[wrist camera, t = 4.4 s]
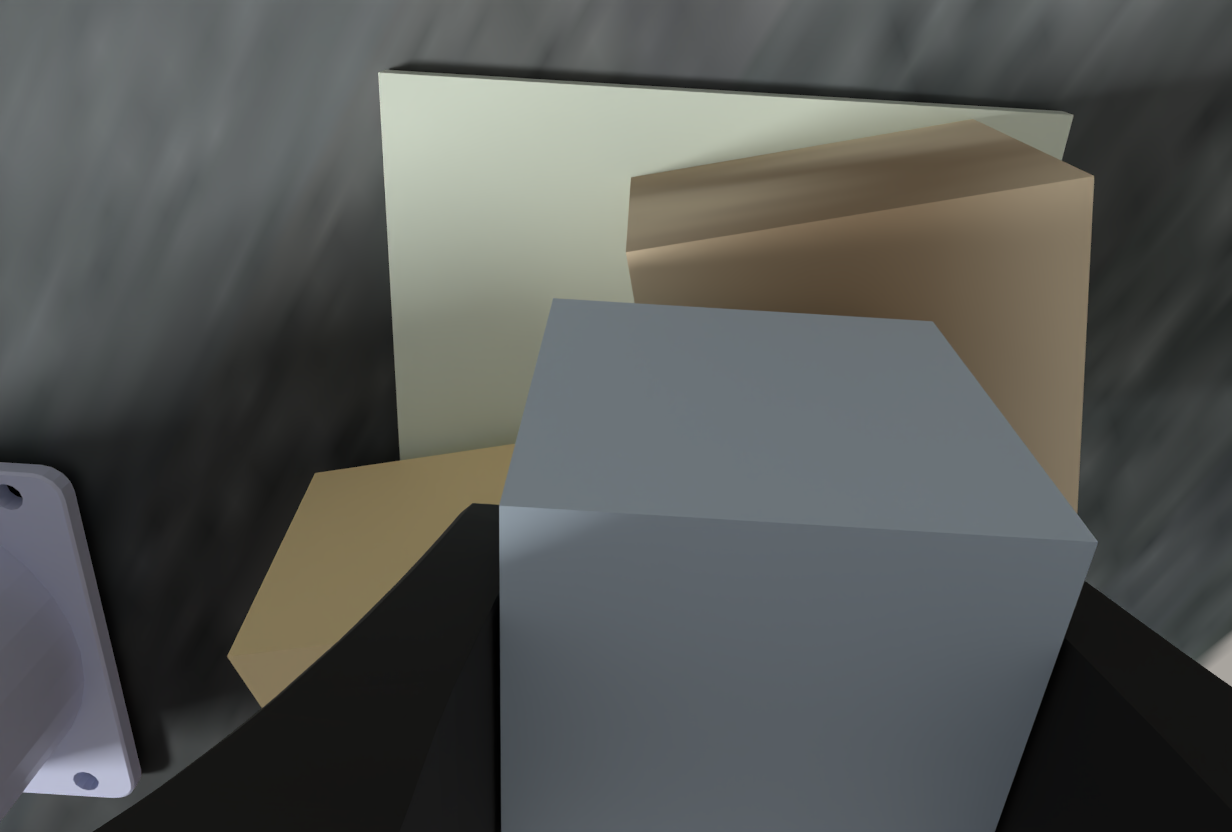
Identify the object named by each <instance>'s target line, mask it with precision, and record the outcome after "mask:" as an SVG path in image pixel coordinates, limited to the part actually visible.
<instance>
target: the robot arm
mask: <svg viewBox="0 0 1232 832" xmlns="http://www.w3.org/2000/svg"><path fill="white" fill-rule="evenodd" d="M7 485H9V486H12V487H14V488H15V489H16V490H18V491H19V492H20V494H21V496H22V498H21V497H18V496H16V495H14V494H13V493H12V492H10V490H9V488H8V487H7ZM140 778H141V768H140V764H139V759H138V755H137V751H136V747H135V742H134V738H133V734H132V730H131V726H130V721H129V717H128V713H127V709H126V705H125V700H124V696H123V692H122V688H121V684H120V679H119V675H118V671H117V667H116V663H115V658H114V654H113V650H112V646H111V642H110V637H109V633H108V629H107V625H106V620H105V616H104V612H103V608H102V604H101V599H100V595H99V591H98V587H97V583H96V578H95V574H94V570H93V566H92V562H91V557H90V553H89V549H88V545H87V541H86V536H85V532H84V528H83V524H82V520H81V515H80V511H79V507H78V503H77V498H76V494H75V490H74V488H73V486H72V484H71V482H70V480H69V479H68V478H67V477H66V476H65V475H64V474H63V473H61V472H60V471H58V470H56V469H54V468H53V467H49V466H44V465H37V464H21V463H5V462H0V822H1V820H2V819H3V818H4V816H5V815H6V814H7V812H8V811H9V810H10V808H11V807H12V806H13V804H14V803H15V802H16V800H17V799H18V798H19V796H20V795H21V794H22V792H28V793H44V794H60V795H76V796H92V797H108V798H118V797H125V796H127V795H129V794H131V792H132V791H133V790H134V788H135V786H136V785H137V783H138V782H139V780H140ZM93 832H501V721H500V563H499V505H496V504H479V503H472V504H471V505H470V506H468V507H467V508H466V509H465V510H463V511H462V512H461V513H460V514H459V515H458V516H457V518H456V519H455V520H454V521H453V522H452V523H451V524H450V526H449V527H448V528H447V529H446V530H445V531H444V532H443V534H442V535H441V536H440V537H439V538H438V539H437V540H436V541H435V543H434V544H433V545H432V546H431V547H430V548H429V549H428V550H427V551H426V552H425V554H424V555H423V556H422V557H421V558H420V559H419V560H418V561H417V562H416V563H415V564H414V565H413V566H412V568H411V569H410V570H409V571H408V572H407V573H406V574H405V575H404V576H403V577H402V578H401V579H400V580H399V581H398V582H397V583H396V584H395V585H394V586H393V587H392V588H391V589H390V590H389V591H388V592H387V593H386V594H385V595H384V596H383V597H382V598H381V599H380V600H379V601H378V602H377V603H376V604H375V605H374V606H373V607H372V608H371V609H370V610H369V611H368V612H367V613H366V614H365V615H364V616H363V617H362V618H361V619H360V620H359V621H358V622H357V623H356V624H355V625H354V626H353V627H352V628H351V629H350V630H349V631H348V632H347V633H346V634H345V635H344V636H343V637H342V638H341V639H340V640H339V641H338V642H336V643H335V644H334V645H333V646H332V647H331V648H330V649H329V650H327V651H326V652H325V653H324V654H323V655H322V656H321V657H320V658H319V659H317V660H316V661H315V662H314V663H313V664H312V665H311V666H310V667H308V668H307V669H306V670H305V671H304V672H303V673H302V674H301V675H299V676H298V677H297V678H296V679H295V680H294V681H293V682H292V683H290V684H289V685H288V686H287V687H286V688H285V689H284V690H283V691H282V692H280V693H279V694H278V695H277V696H276V697H275V698H273V699H272V700H271V701H270V702H269V703H268V704H266V705H265V706H264V707H263V708H261V709H260V710H259V711H258V712H257V713H255V714H254V715H253V716H252V717H250V718H249V719H248V720H247V721H246V722H244V723H243V724H242V725H241V726H239V727H238V728H237V729H236V730H234V731H233V732H232V733H231V734H229V735H228V736H227V737H226V738H224V739H223V740H222V741H220V742H219V743H218V744H217V745H215V746H214V747H213V748H211V749H210V750H209V751H207V752H206V753H205V754H203V755H202V756H201V757H199V758H198V759H197V760H195V761H194V762H193V763H191V764H190V765H189V766H187V767H186V768H185V769H184V770H182V771H181V772H180V773H178V774H177V775H176V776H174V777H173V778H172V779H170V780H169V781H167V782H166V783H165V784H163V785H162V786H161V787H159V788H158V789H156V790H155V791H154V792H152V793H151V794H149V795H148V796H146V797H145V798H143V799H142V800H140V801H139V802H138V803H136V804H135V805H133V806H132V807H130V808H129V809H127V810H125V811H124V812H122V813H121V814H119V815H118V816H116V817H115V818H113V819H112V820H110V821H109V822H107V823H106V824H104V825H103V826H101V827H100V828H98V829H96V830H95V831H93ZM995 832H1232V687H1231V686H1230V685H1228V684H1227V683H1225V682H1224V681H1222V680H1221V679H1220V678H1218V677H1217V676H1216V675H1214V674H1213V673H1211V672H1210V671H1208V670H1207V669H1206V668H1204V667H1203V666H1201V665H1200V664H1199V663H1197V662H1196V661H1194V660H1193V659H1192V658H1190V657H1189V656H1187V655H1186V654H1185V653H1183V652H1182V651H1180V650H1179V649H1178V648H1176V647H1175V646H1173V645H1172V644H1171V643H1169V642H1168V641H1167V640H1165V639H1164V638H1162V637H1161V636H1160V635H1158V634H1157V633H1156V632H1154V631H1153V630H1151V629H1150V628H1149V627H1147V626H1146V625H1144V624H1143V623H1142V622H1140V621H1139V620H1138V619H1136V618H1135V617H1133V616H1132V615H1131V614H1129V613H1128V612H1127V611H1125V610H1124V609H1123V608H1121V607H1120V606H1118V605H1117V604H1116V603H1114V602H1113V601H1112V600H1110V599H1109V598H1107V597H1106V596H1105V595H1103V594H1102V593H1101V592H1099V591H1098V590H1096V589H1095V588H1094V587H1092V586H1091V585H1090V584H1088V583H1087V582H1085V581H1084V583H1083V586H1082V589H1081V592H1080V595H1079V597H1078V600H1077V603H1076V606H1075V609H1074V611H1073V614H1072V617H1071V620H1070V623H1069V625H1068V628H1067V631H1066V634H1065V637H1064V639H1063V642H1062V645H1061V648H1060V651H1059V653H1058V656H1057V659H1056V662H1055V665H1054V667H1053V670H1052V673H1051V676H1050V679H1049V681H1048V684H1047V687H1046V690H1045V693H1044V695H1043V698H1042V701H1041V704H1040V707H1039V709H1038V712H1037V715H1036V718H1035V721H1034V723H1033V726H1032V729H1031V732H1030V735H1029V737H1028V740H1027V743H1026V746H1025V749H1024V751H1023V754H1022V757H1021V760H1020V763H1019V765H1018V768H1017V771H1016V774H1015V777H1014V779H1013V782H1012V785H1011V788H1010V791H1009V793H1008V796H1007V799H1006V802H1005V805H1004V807H1003V810H1002V813H1001V816H1000V819H999V821H998V824H997V827H996V830H995Z"/></svg>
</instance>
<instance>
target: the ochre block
mask: <svg viewBox="0 0 1232 832" xmlns="http://www.w3.org/2000/svg"><path fill="white" fill-rule="evenodd" d="M514 447H515V444H509V445H502V446H496V447H489V448H482V449H475V450H468V451H461V452H455V453H448V454H441V455H434V456H427V457H421V458H414V459H407V460H400V461H393V462H387V463H380V464H373V465H366V466H359V467H353V468H346V469H339V470H332V471H325V472H319V473H315V474H314V476H313V478H312V480H311V482H310V485H309V487H308V489H307V491H306V493H305V495H304V497H303V499H302V501H301V503H300V505H299V507H298V510H297V512H296V514H295V516H294V518H293V520H292V522H291V524H290V526H289V528H288V530H287V532H286V535H285V537H284V539H283V541H282V543H281V545H280V547H279V549H278V551H277V553H276V555H275V557H274V560H273V562H272V564H271V566H270V568H269V570H268V572H267V574H266V576H265V578H264V580H263V582H262V585H261V587H260V589H259V591H258V593H257V595H256V597H255V599H254V601H253V603H252V605H251V607H250V610H249V612H248V614H247V616H246V618H245V620H244V622H243V624H242V626H241V628H240V630H239V632H238V635H237V637H236V639H235V641H234V643H233V645H232V647H231V649H230V651H229V653H228V655H227V657H228V659H229V660H230V662H231V663H232V665H233V666H234V668H235V669H236V670H237V672H238V673H239V675H240V676H241V678H242V679H243V681H244V682H245V684H246V685H247V687H248V688H249V690H250V691H251V693H252V694H253V696H254V697H255V699H256V700H257V701H258V703H259V704H260V706H261V707H262V708H263V707H264V706H265V705H266V704H268V703H269V702H270V701H271V700H272V699H273V698H275V697H276V696H277V695H278V694H279V693H280V692H282V691H283V690H284V689H285V688H286V687H287V686H288V685H289V684H290V683H292V682H293V681H294V680H295V679H296V678H297V677H298V676H299V675H301V674H302V673H303V672H304V671H305V670H306V669H307V668H308V667H310V666H311V665H312V664H313V663H314V662H315V661H316V660H317V659H319V658H320V657H321V656H322V655H323V654H324V653H325V652H326V651H327V650H329V649H330V648H331V647H332V646H333V645H334V644H335V643H336V642H338V641H339V640H340V639H341V638H342V637H343V636H344V635H345V634H346V633H347V632H348V631H349V630H350V629H351V628H352V627H353V626H354V625H355V624H356V623H357V622H358V621H359V620H360V619H361V618H362V617H363V616H364V615H365V614H366V613H367V612H368V611H369V610H370V609H371V608H372V607H373V606H374V605H375V604H376V603H377V602H378V601H379V600H380V599H381V598H382V597H383V596H384V595H385V594H386V593H387V592H388V591H389V590H390V589H391V588H392V587H393V586H394V585H395V584H396V583H397V582H398V581H399V580H400V579H401V578H402V577H403V576H404V575H405V574H406V573H407V572H408V571H409V570H410V569H411V568H412V566H413V565H414V564H415V563H416V562H417V561H418V560H419V559H420V558H421V557H422V556H423V555H424V554H425V552H426V551H427V550H428V549H429V548H430V547H431V546H432V545H433V544H434V543H435V541H436V540H437V539H438V538H439V537H440V536H441V535H442V534H443V532H444V531H445V530H446V529H447V528H448V527H449V526H450V524H451V523H452V522H453V521H454V520H455V519H456V518H457V516H458V515H459V514H460V513H461V512H462V511H463V510H465V509H466V508H467V507H468V506H470V505H471V504H472V503H479V504H496V505H499V504H500V500H501V497H502V493H503V489H504V485H505V481H506V477H507V474H508V470H509V466H510V462H511V458H512V454H513V451H514Z"/></svg>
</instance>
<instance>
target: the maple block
mask: <svg viewBox="0 0 1232 832" xmlns="http://www.w3.org/2000/svg"><path fill="white" fill-rule="evenodd" d="M1093 192H1094V176H1093V175H1091V174H1089V173H1087V172H1085V171H1082V170H1080V169H1078V168H1076V167H1074V166H1072V165H1070V164H1068V163H1066V162H1063V161H1061V160H1059V159H1057V158H1055V157H1053V156H1051V155H1049V154H1046V153H1044V152H1042V151H1040V150H1038V149H1036V148H1034V147H1032V146H1029V145H1027V144H1025V143H1023V142H1021V141H1019V140H1017V139H1015V138H1012V137H1010V136H1008V135H1006V134H1004V133H1002V132H1000V131H998V130H995V129H993V128H991V127H989V126H987V125H985V124H983V123H981V122H978V121H976V120H974V119H970V120H964V121H958V122H952V123H946V124H940V125H934V126H929V127H923V128H917V129H911V130H905V131H899V132H894V133H888V134H882V135H876V136H870V137H864V138H858V139H853V140H847V141H841V142H835V143H829V144H823V145H817V146H812V147H806V148H800V149H794V150H788V151H782V152H777V153H771V154H765V155H759V156H753V157H747V158H741V159H736V160H730V161H724V162H718V163H712V164H706V165H700V166H695V167H689V168H683V169H677V170H671V171H665V172H660V173H654V174H648V175H642V176H636V177H631V184H630V198H629V213H628V227H627V242H626V256H627V262H628V268H629V274H630V279H631V285H632V291H633V297H634V302H635V303H640V304H656V305H673V306H689V307H706V308H722V309H739V310H755V311H772V312H788V313H805V314H821V315H838V316H854V317H871V318H887V319H904V320H920V321H933V322H934V324H935V325H936V326H937V328H938V329H939V330H940V332H941V333H942V334H943V336H944V337H945V338H946V340H947V341H948V342H949V344H950V345H951V346H952V348H953V349H954V350H955V352H956V353H957V354H958V356H959V357H960V358H961V360H962V361H963V362H964V364H965V365H966V366H967V368H968V369H969V370H970V372H971V373H972V374H973V376H974V377H975V378H976V380H977V381H978V382H979V384H980V385H981V386H982V388H983V389H984V390H985V392H986V393H987V394H988V396H989V397H990V398H991V400H992V401H993V402H994V404H995V405H996V406H997V408H998V409H999V410H1000V412H1001V413H1002V414H1003V416H1004V417H1005V418H1006V420H1007V421H1008V422H1009V424H1010V425H1011V426H1012V428H1013V429H1014V430H1015V432H1016V433H1017V434H1018V436H1019V437H1020V438H1021V440H1022V441H1023V442H1024V444H1025V445H1026V446H1027V448H1028V449H1029V450H1030V452H1031V453H1032V454H1033V456H1034V457H1035V458H1036V460H1037V461H1038V462H1039V464H1040V465H1041V466H1042V468H1043V469H1044V470H1045V472H1046V473H1047V474H1048V476H1049V477H1050V478H1051V480H1052V481H1053V482H1054V484H1055V485H1056V486H1057V488H1058V489H1059V490H1060V492H1061V493H1062V495H1063V496H1064V497H1065V499H1066V500H1067V501H1068V503H1069V504H1070V505H1071V507H1072V508H1073V509H1074V511H1075V512H1076V513H1077V509H1078V489H1079V470H1080V450H1081V430H1082V410H1083V390H1084V370H1085V351H1086V331H1087V311H1088V291H1089V271H1090V251H1091V231H1092V212H1093Z"/></svg>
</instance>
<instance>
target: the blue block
mask: <svg viewBox="0 0 1232 832" xmlns="http://www.w3.org/2000/svg"><path fill="white" fill-rule="evenodd" d="M1097 544H1098V541H1097V540H1096V539H1095V537H1094V536H1093V535H1092V533H1091V532H1090V531H1089V529H1088V528H1087V527H1086V525H1085V524H1084V523H1083V521H1082V520H1081V519H1080V517H1079V516H1078V515H1077V513H1076V512H1075V511H1074V509H1073V508H1072V507H1071V505H1070V504H1069V503H1068V501H1067V500H1066V499H1065V497H1064V496H1063V495H1062V493H1061V492H1060V490H1059V489H1058V488H1057V486H1056V485H1055V484H1054V482H1053V481H1052V480H1051V478H1050V477H1049V476H1048V474H1047V473H1046V472H1045V470H1044V469H1043V468H1042V466H1041V465H1040V464H1039V462H1038V461H1037V460H1036V458H1035V457H1034V456H1033V454H1032V453H1031V452H1030V450H1029V449H1028V448H1027V446H1026V445H1025V444H1024V442H1023V441H1022V440H1021V438H1020V437H1019V436H1018V434H1017V433H1016V432H1015V430H1014V429H1013V428H1012V426H1011V425H1010V424H1009V422H1008V421H1007V420H1006V418H1005V417H1004V416H1003V414H1002V413H1001V412H1000V410H999V409H998V408H997V406H996V405H995V404H994V402H993V401H992V400H991V398H990V397H989V396H988V394H987V393H986V392H985V390H984V389H983V388H982V386H981V385H980V384H979V382H978V381H977V380H976V378H975V377H974V376H973V374H972V373H971V372H970V370H969V369H968V368H967V366H966V365H965V364H964V362H963V361H962V360H961V358H960V357H959V356H958V354H957V353H956V352H955V350H954V349H953V348H952V346H951V345H950V344H949V342H948V341H947V340H946V338H945V337H944V336H943V334H942V333H941V332H940V330H939V329H938V328H937V326H936V325H935V324H934V322H933V321H920V320H904V319H887V318H871V317H854V316H838V315H821V314H805V313H788V312H772V311H755V310H739V309H722V308H706V307H689V306H673V305H656V304H640V303H623V302H607V301H590V300H574V299H557V298H553V301H552V305H551V309H550V312H549V316H548V320H547V324H546V328H545V332H544V336H543V339H542V343H541V347H540V351H539V355H538V359H537V362H536V366H535V370H534V374H533V378H532V382H531V385H530V389H529V393H528V397H527V401H526V405H525V408H524V412H523V416H522V420H521V424H520V428H519V431H518V435H517V439H516V443H515V447H514V451H513V454H512V458H511V462H510V466H509V470H508V474H507V477H506V481H505V485H504V489H503V493H502V497H501V500H500V504H499V563H500V721H501V832H995V830H996V827H997V824H998V821H999V819H1000V816H1001V813H1002V810H1003V807H1004V805H1005V802H1006V799H1007V796H1008V793H1009V791H1010V788H1011V785H1012V782H1013V779H1014V777H1015V774H1016V771H1017V768H1018V765H1019V763H1020V760H1021V757H1022V754H1023V751H1024V749H1025V746H1026V743H1027V740H1028V737H1029V735H1030V732H1031V729H1032V726H1033V723H1034V721H1035V718H1036V715H1037V712H1038V709H1039V707H1040V704H1041V701H1042V698H1043V695H1044V693H1045V690H1046V687H1047V684H1048V681H1049V679H1050V676H1051V673H1052V670H1053V667H1054V665H1055V662H1056V659H1057V656H1058V653H1059V651H1060V648H1061V645H1062V642H1063V639H1064V637H1065V634H1066V631H1067V628H1068V625H1069V623H1070V620H1071V617H1072V614H1073V611H1074V609H1075V606H1076V603H1077V600H1078V597H1079V595H1080V592H1081V589H1082V586H1083V583H1084V581H1085V578H1086V575H1087V572H1088V569H1089V567H1090V564H1091V561H1092V558H1093V555H1094V553H1095V550H1096V547H1097Z"/></svg>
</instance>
